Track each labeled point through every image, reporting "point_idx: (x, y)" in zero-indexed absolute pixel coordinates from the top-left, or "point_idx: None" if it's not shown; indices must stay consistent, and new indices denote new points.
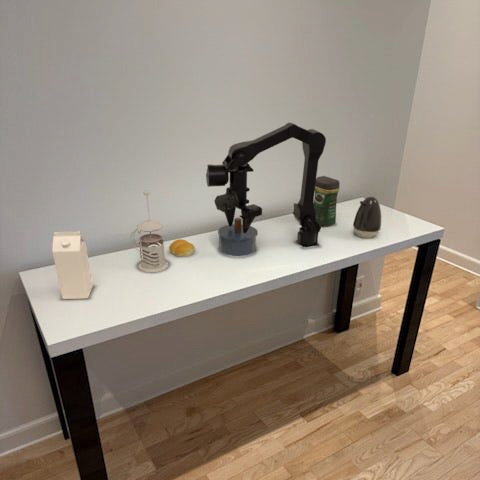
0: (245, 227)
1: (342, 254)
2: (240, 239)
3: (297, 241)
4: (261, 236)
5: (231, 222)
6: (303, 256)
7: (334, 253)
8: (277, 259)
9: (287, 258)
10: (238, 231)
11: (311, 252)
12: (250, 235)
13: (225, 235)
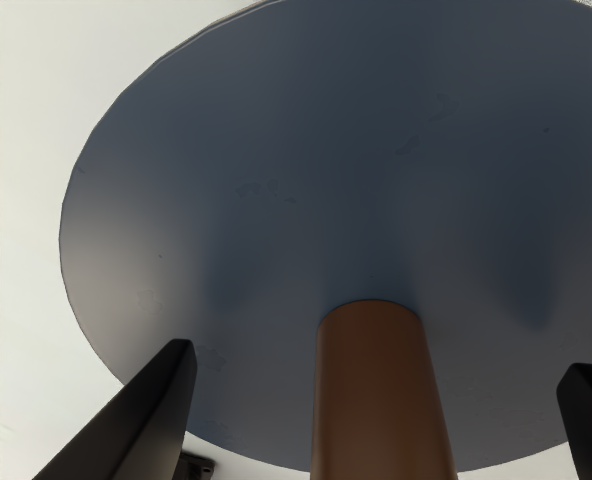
0: (84, 443)
1: (2, 475)
2: (69, 183)
3: (179, 467)
4: None
5: (589, 444)
6: (32, 390)
7: (22, 467)
8: (36, 285)
9: (32, 330)
10: (322, 332)
11: (67, 432)
12: (147, 354)
13: (391, 77)
